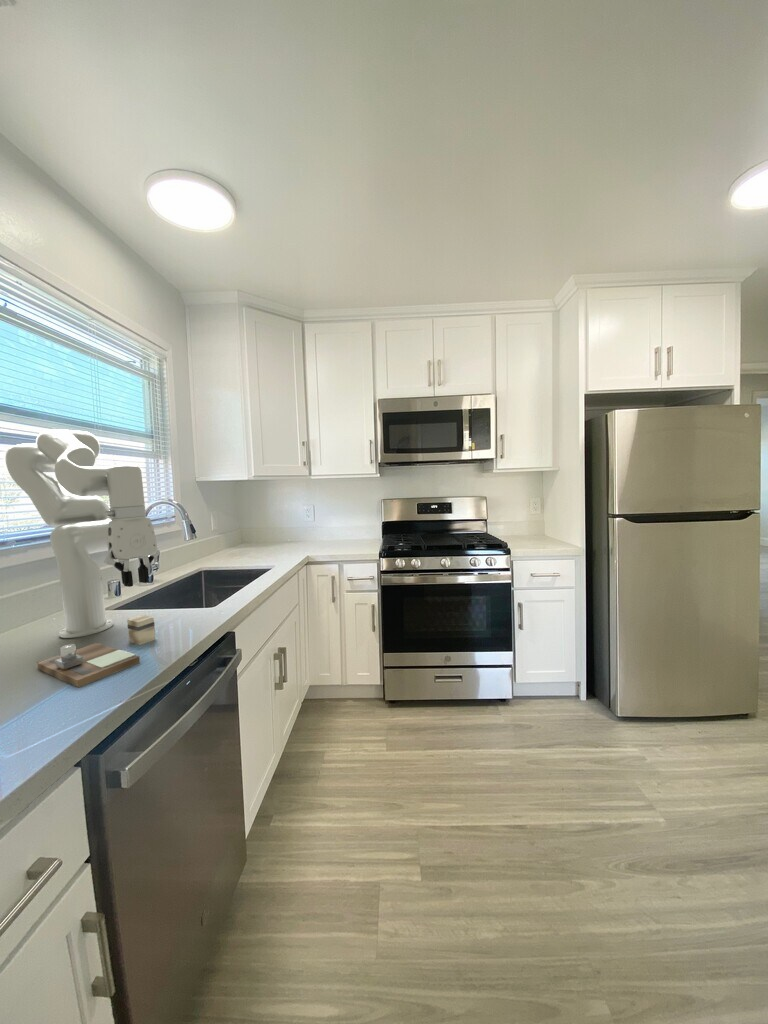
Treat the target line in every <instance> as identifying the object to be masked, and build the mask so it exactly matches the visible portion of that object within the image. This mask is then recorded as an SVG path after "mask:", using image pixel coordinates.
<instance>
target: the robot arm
mask: <svg viewBox="0 0 768 1024" xmlns="http://www.w3.org/2000/svg"><path fill="white" fill-rule="evenodd" d="M100 451H101V445H100V442H99V439H98V438H97V437H96V436H95V435H94V434H92V433H90V432H88V431H84V430H83V431H82V430H72V429H70V430H69V429H60V428H59V429H56V428H52V429H47V430H43V431H42V432H40V433H39V434H38V435H37V436H36V439H35V443H21V444H20V443H19V444H16V445H12V446H10V447H9V448H8V449H7V450H6V453H5V457H4V458H5V466H6V469H7V472H8V474H9V475H10V477H11V479H12V481H14V483H15V484H16V485H17V486H18V487H19V488H20V489H21V490H23V492H24V493H26V495H27V496H28V497H29V499H30V500H31V502H32V504H33V506H34V507H35V509H36V510H37V512H38V514H39V515H40V517H41V518H42V520H43V521H44V522H45V524H46V525H47V526H49V527H51V528H54V529H53V530H52V531H51V532H50V536H49V542H50V545H51V548H52V551H53V554H54V556H55V557H54V558H55V561H56V565H57V571H58V576H59V582H60V584H59V585H60V591H61V598H62V609H63V617H64V623H65V624H64V626H65V627H64V628H62V629H61V630H59V632H58V634H59V635H58V636H59V637H60V638H63V639H74V638H80V637H86V636H90V635H95V634H99V633H101V632H103V631H105V630H108V629H110V628H111V627H113V626H114V621H113V619H111V618H110V619H108V618H107V616H106V605H105V597H104V589H103V581H102V580H103V579H102V571H101V568H100V565H99V564H98V562H97V561H95V559H93V558H92V557H91V556H90V555H91V554H95V553H101V552H102V553H103V552H107V554H106V556H105V558H104V561H103V564H105V565H108V566H111V567H114V568H115V569H117V570H118V571H120V573H121V583H122V584H123V585H124V587H129V588H131V587H133V586H134V580H133V572H132V570H130V560H133V559H138V564H139V567H138V568H137V572H138V574H137V575H138V582H139V583H143V584H148V583H149V578H150V575H149V568H150V566H151V564H152V562H153V561H154V560H155V559H156V558H157V557H158V556H160V554H161V551H160V550H159V548H158V545H157V539H156V535H155V534H156V533H155V529H154V526H153V523H152V520H151V517H147V514H146V513H147V512H146V504H145V503H146V502H145V495H144V484H143V474H142V470H141V467H139V466H137V465H133V464H121V465H120V464H119V465H111V466H94V465H95V463H96V458H97V457H98V456H99V454H100ZM46 473H54V474H55V478H56V479H55V478H54V477H52V476H50V475H48V474H46ZM100 496H101V497H103V496H105V497H107V496H108V499H109V506H108V504H107V503H106V502H105V500H104V499H103V498H101V497H100ZM115 560H116V561H115ZM117 560H118V561H117Z"/></svg>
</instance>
